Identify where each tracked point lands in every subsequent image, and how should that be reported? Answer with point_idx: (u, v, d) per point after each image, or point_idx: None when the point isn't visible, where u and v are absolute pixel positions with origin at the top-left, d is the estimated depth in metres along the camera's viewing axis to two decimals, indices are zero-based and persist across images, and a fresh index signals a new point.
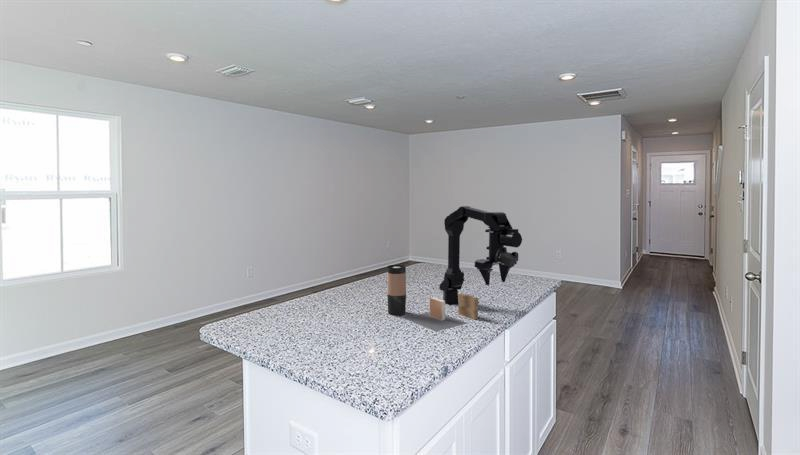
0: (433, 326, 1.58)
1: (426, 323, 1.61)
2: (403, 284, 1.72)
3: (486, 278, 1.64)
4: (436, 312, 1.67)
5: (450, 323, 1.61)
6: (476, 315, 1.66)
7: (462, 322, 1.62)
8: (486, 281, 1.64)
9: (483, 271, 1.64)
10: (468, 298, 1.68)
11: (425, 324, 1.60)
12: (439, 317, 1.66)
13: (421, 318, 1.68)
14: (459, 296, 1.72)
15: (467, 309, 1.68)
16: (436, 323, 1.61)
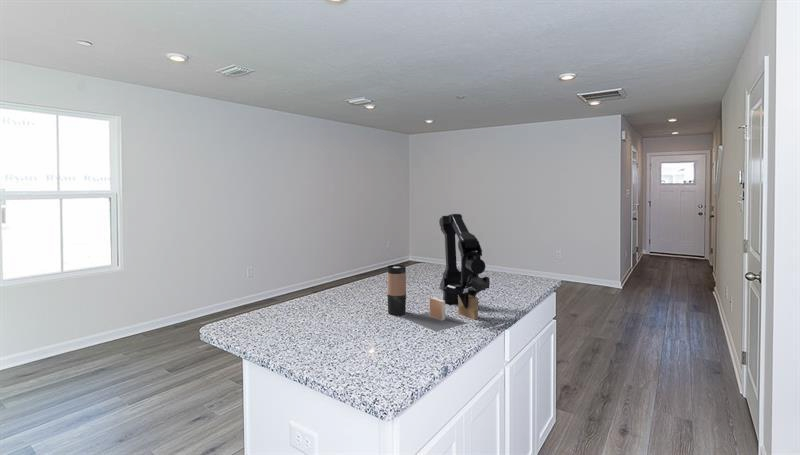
0: (433, 326, 1.58)
1: (426, 323, 1.61)
2: (403, 284, 1.72)
3: (464, 301, 1.68)
4: (436, 312, 1.67)
5: (450, 323, 1.61)
6: (476, 315, 1.66)
7: (462, 322, 1.62)
8: (464, 304, 1.68)
9: (461, 294, 1.68)
10: (468, 298, 1.68)
11: (425, 324, 1.60)
12: (439, 317, 1.66)
13: (421, 318, 1.68)
14: None
15: (467, 309, 1.68)
16: (436, 323, 1.61)
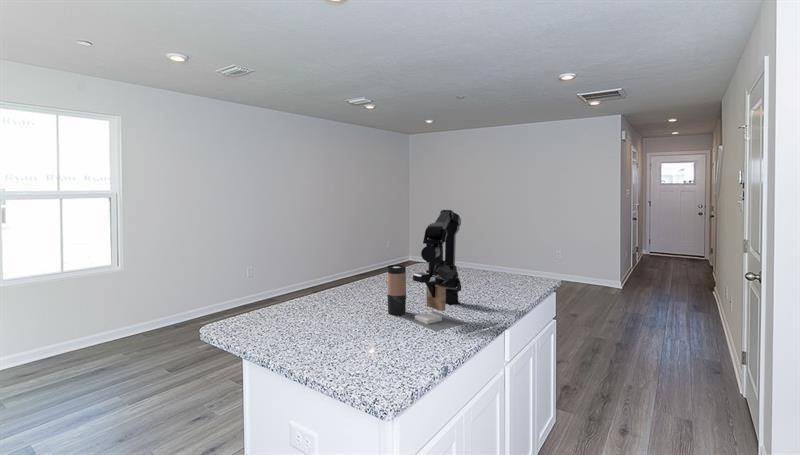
0: (433, 326, 1.58)
1: None
2: (403, 284, 1.72)
3: (431, 290, 1.65)
4: None
5: (450, 323, 1.61)
6: (443, 305, 1.64)
7: (462, 322, 1.62)
8: (432, 293, 1.66)
9: (429, 283, 1.66)
10: (435, 288, 1.65)
11: (425, 324, 1.60)
12: None
13: None
14: None
15: (435, 299, 1.66)
16: (436, 323, 1.61)
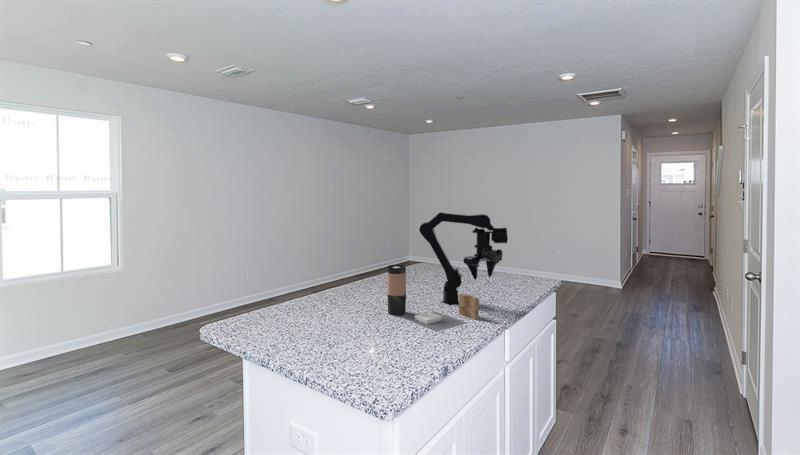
0: (433, 326, 1.58)
1: None
2: (403, 284, 1.72)
3: (474, 273, 1.84)
4: None
5: (450, 323, 1.61)
6: (477, 315, 1.66)
7: (462, 322, 1.62)
8: (474, 275, 1.85)
9: (471, 267, 1.85)
10: (468, 298, 1.68)
11: (425, 324, 1.60)
12: None
13: None
14: (460, 296, 1.71)
15: (467, 309, 1.68)
16: (436, 323, 1.61)
